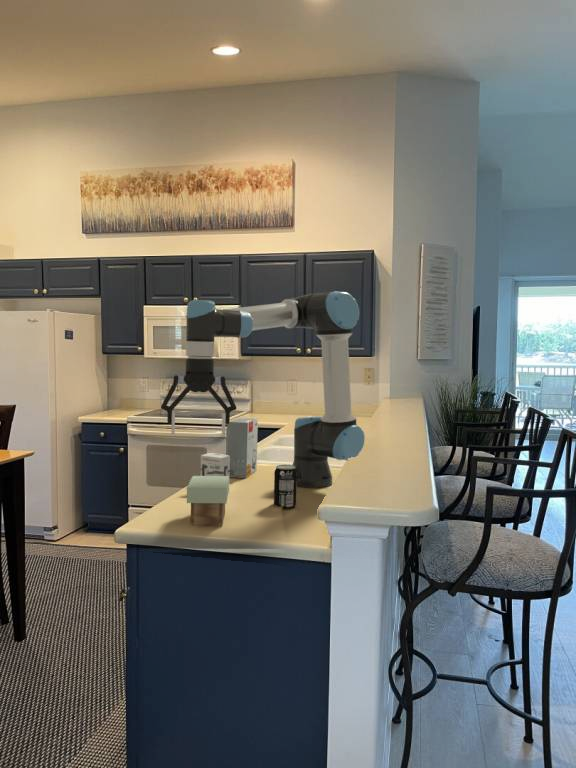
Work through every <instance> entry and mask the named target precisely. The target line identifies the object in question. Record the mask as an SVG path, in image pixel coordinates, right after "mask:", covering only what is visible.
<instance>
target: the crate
mask: <svg viewBox="0 0 576 768" xmlns="http://www.w3.org/2000/svg"><path fill="white" fill-rule="evenodd" d="M225 515H226V503H190V528H191V527H192V528H193V527H195V528H196V527H197V528H198V527H199V528H201V527H202V528H209V527H210V528H223V524H224V520H225Z"/></svg>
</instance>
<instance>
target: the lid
mask: <svg viewBox="0 0 576 768" xmlns="http://www.w3.org/2000/svg"><path fill="white" fill-rule="evenodd" d="M229 493H230V477H229V476H200V475H192V477H191V478H190V480H189V482H188V485H187V486H186V504H191V503H225V504H227V502H228V497H229Z"/></svg>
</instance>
